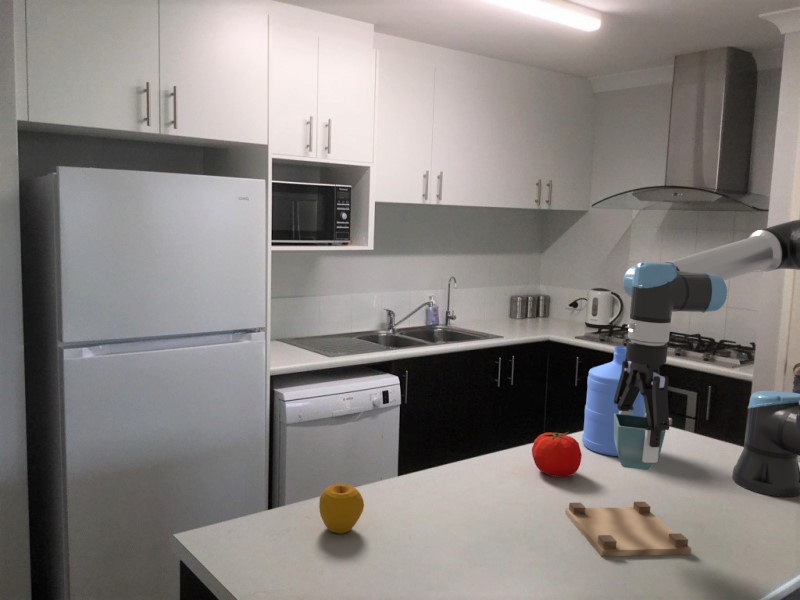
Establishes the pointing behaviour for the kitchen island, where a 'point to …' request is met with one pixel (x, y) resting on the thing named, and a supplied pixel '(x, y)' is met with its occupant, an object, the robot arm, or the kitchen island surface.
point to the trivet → (626, 531)
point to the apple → (340, 507)
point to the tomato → (556, 454)
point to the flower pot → (632, 440)
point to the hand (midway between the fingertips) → (635, 451)
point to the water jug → (605, 405)
